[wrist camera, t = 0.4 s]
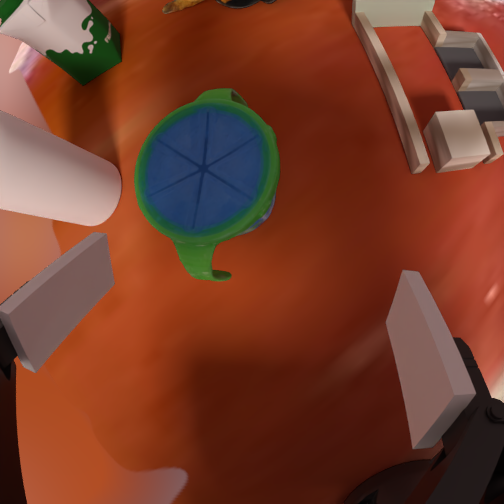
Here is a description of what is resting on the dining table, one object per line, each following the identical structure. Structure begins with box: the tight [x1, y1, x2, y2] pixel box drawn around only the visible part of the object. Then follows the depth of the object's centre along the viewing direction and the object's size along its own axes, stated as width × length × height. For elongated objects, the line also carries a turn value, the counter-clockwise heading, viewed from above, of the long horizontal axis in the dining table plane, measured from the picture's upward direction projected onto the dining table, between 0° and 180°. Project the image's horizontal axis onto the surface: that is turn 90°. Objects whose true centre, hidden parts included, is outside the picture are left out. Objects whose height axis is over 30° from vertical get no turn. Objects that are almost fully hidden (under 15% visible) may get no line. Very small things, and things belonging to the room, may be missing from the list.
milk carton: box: [0, 0, 122, 86], centre depth 26 cm, size 9×9×20 cm
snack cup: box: [134, 88, 280, 281], centre depth 25 cm, size 16×10×10 cm
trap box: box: [352, 0, 504, 174], centre depth 24 cm, size 20×16×5 cm
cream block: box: [423, 110, 490, 173], centre depth 24 cm, size 4×4×4 cm
